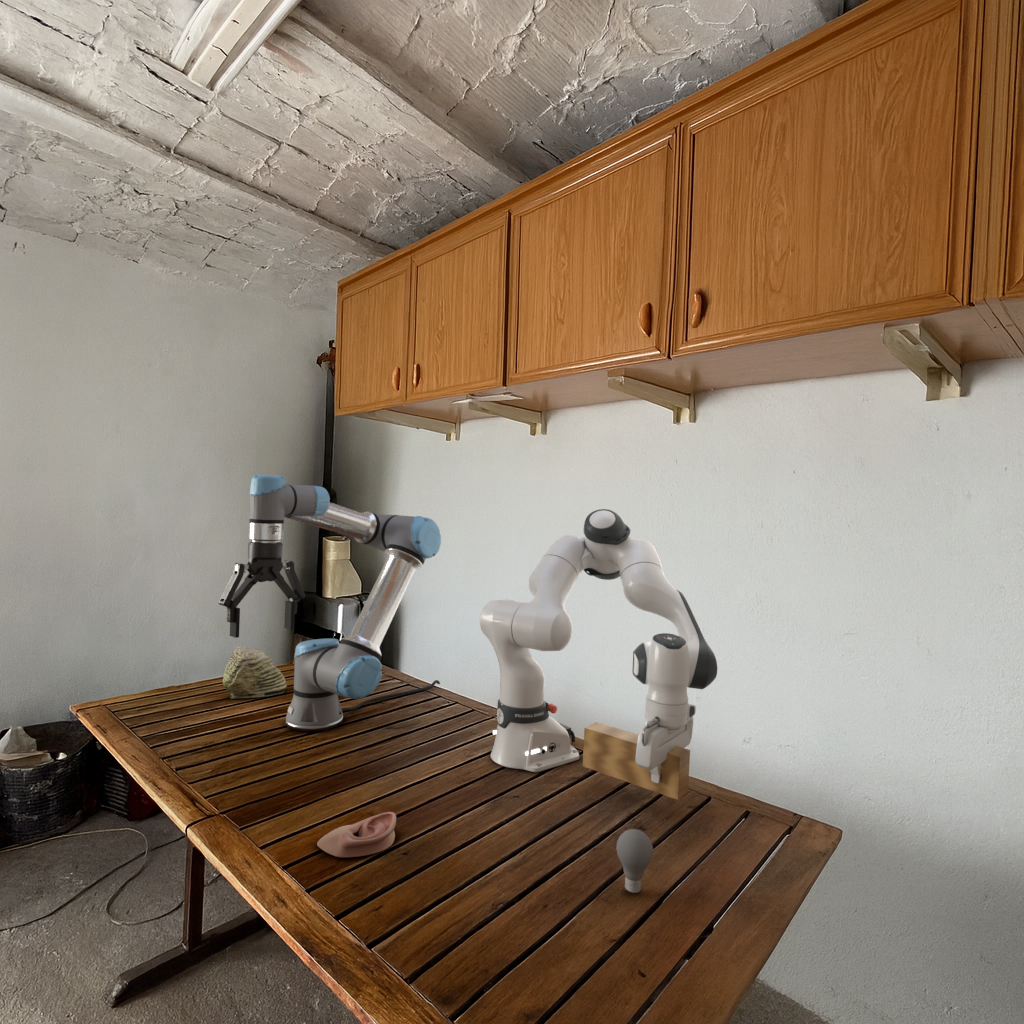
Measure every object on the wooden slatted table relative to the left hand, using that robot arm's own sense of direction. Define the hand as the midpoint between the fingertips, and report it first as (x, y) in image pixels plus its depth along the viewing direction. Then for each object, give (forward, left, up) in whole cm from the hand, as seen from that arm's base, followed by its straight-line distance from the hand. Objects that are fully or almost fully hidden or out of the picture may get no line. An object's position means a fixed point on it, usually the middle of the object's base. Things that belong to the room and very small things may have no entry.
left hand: (262, 632), depth 147 cm
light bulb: (-17, +88, -31) cm, 95 cm away
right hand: (-47, +79, -24) cm, 95 cm away
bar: (-47, +72, -27) cm, 90 cm away
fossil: (-26, -48, -31) cm, 63 cm away
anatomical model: (+5, +43, -31) cm, 54 cm away
